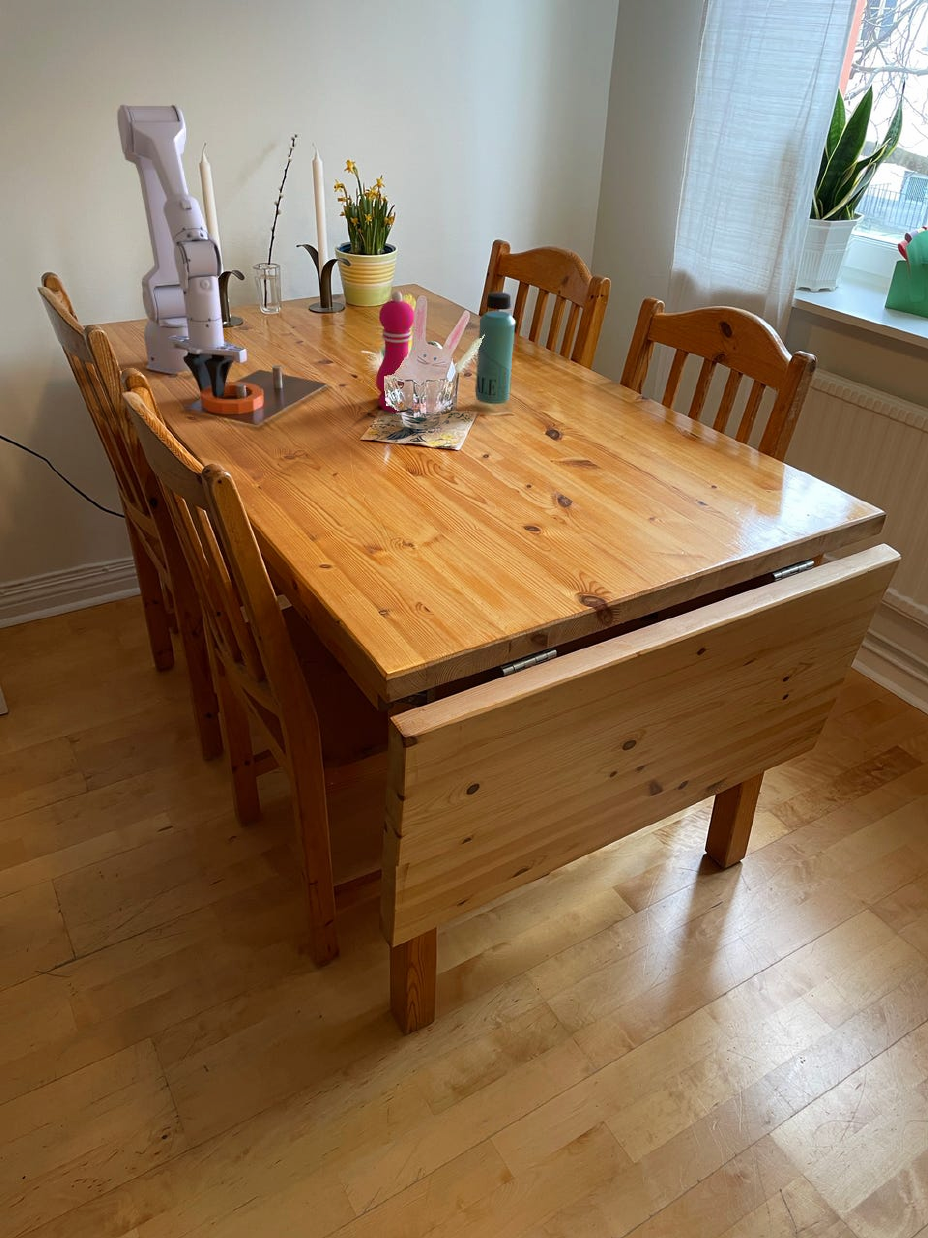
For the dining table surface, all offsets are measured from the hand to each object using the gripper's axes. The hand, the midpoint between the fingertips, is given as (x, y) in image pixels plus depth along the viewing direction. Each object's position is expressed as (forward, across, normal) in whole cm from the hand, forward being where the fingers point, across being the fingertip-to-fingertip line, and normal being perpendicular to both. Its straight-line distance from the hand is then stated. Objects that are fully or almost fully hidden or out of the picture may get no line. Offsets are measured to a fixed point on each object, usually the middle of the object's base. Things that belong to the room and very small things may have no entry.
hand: (212, 395), depth 156 cm
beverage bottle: (+2, +43, +24) cm, 50 cm away
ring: (+1, +4, 0) cm, 4 cm away
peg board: (+1, +6, +6) cm, 8 cm away
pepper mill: (+2, +28, +16) cm, 32 cm away
